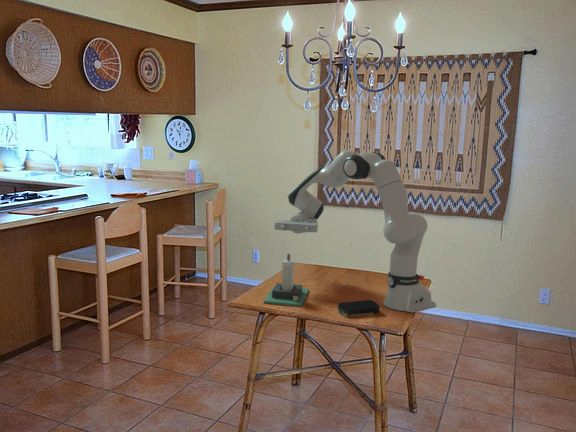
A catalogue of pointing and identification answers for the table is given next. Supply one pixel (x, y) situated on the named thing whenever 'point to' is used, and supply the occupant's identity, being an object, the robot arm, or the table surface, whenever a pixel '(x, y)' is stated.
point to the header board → (287, 296)
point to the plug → (288, 274)
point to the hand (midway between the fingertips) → (293, 229)
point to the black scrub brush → (358, 308)
